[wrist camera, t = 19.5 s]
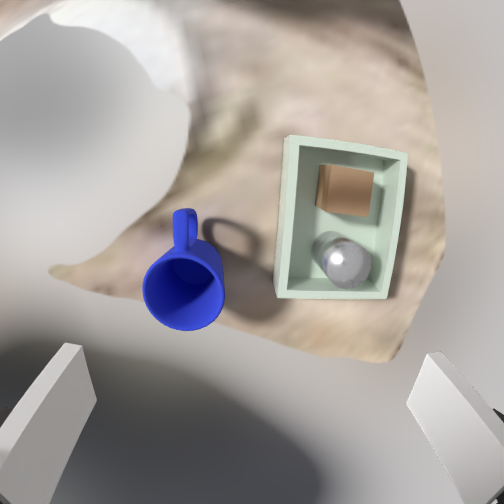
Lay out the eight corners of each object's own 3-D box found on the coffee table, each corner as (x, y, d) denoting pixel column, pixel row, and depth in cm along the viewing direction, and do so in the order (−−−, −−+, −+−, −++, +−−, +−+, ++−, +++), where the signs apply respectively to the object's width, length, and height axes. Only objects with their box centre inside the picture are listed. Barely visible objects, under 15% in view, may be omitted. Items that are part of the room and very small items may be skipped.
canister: (312, 230, 37) (329, 243, 31) (350, 231, 38) (373, 244, 31) (309, 269, 39) (325, 289, 32) (346, 268, 39) (367, 288, 32)
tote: (283, 138, 35) (290, 134, 30) (389, 153, 36) (407, 152, 31) (272, 281, 40) (277, 297, 35) (371, 284, 41) (386, 299, 36)
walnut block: (319, 164, 35) (331, 164, 31) (357, 170, 36) (374, 172, 31) (314, 205, 37) (325, 211, 32) (352, 210, 37) (368, 217, 32)
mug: (227, 199, 37) (224, 212, 27) (228, 293, 40) (225, 332, 30) (161, 200, 36) (135, 213, 27) (166, 292, 40) (147, 329, 30)
